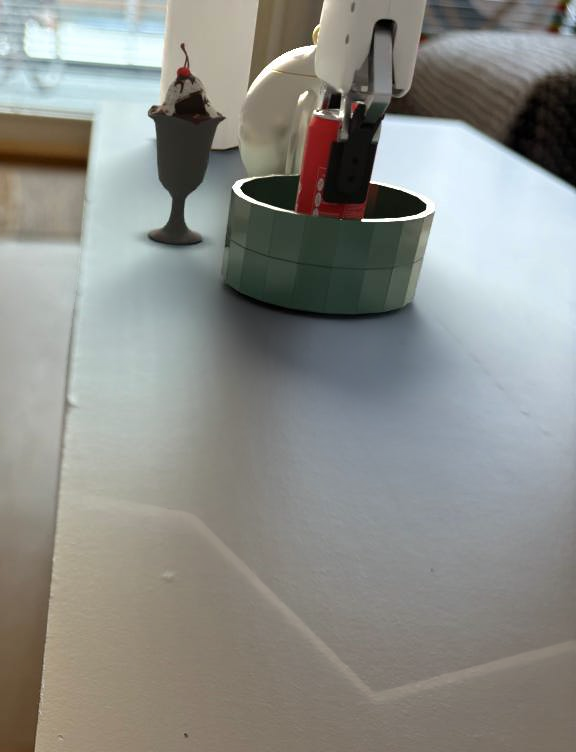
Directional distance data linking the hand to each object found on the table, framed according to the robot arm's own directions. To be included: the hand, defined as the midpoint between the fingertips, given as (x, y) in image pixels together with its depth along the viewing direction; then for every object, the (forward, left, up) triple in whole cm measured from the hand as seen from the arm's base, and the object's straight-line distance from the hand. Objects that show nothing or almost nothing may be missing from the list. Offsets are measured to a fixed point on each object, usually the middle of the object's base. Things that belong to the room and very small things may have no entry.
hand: (334, 190), depth 74 cm
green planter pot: (0, 0, -7) cm, 7 cm away
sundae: (+10, -14, -8) cm, 19 cm away
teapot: (-3, -24, -8) cm, 25 cm away
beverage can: (0, 0, -7) cm, 7 cm away
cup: (+2, -62, -8) cm, 62 cm away
